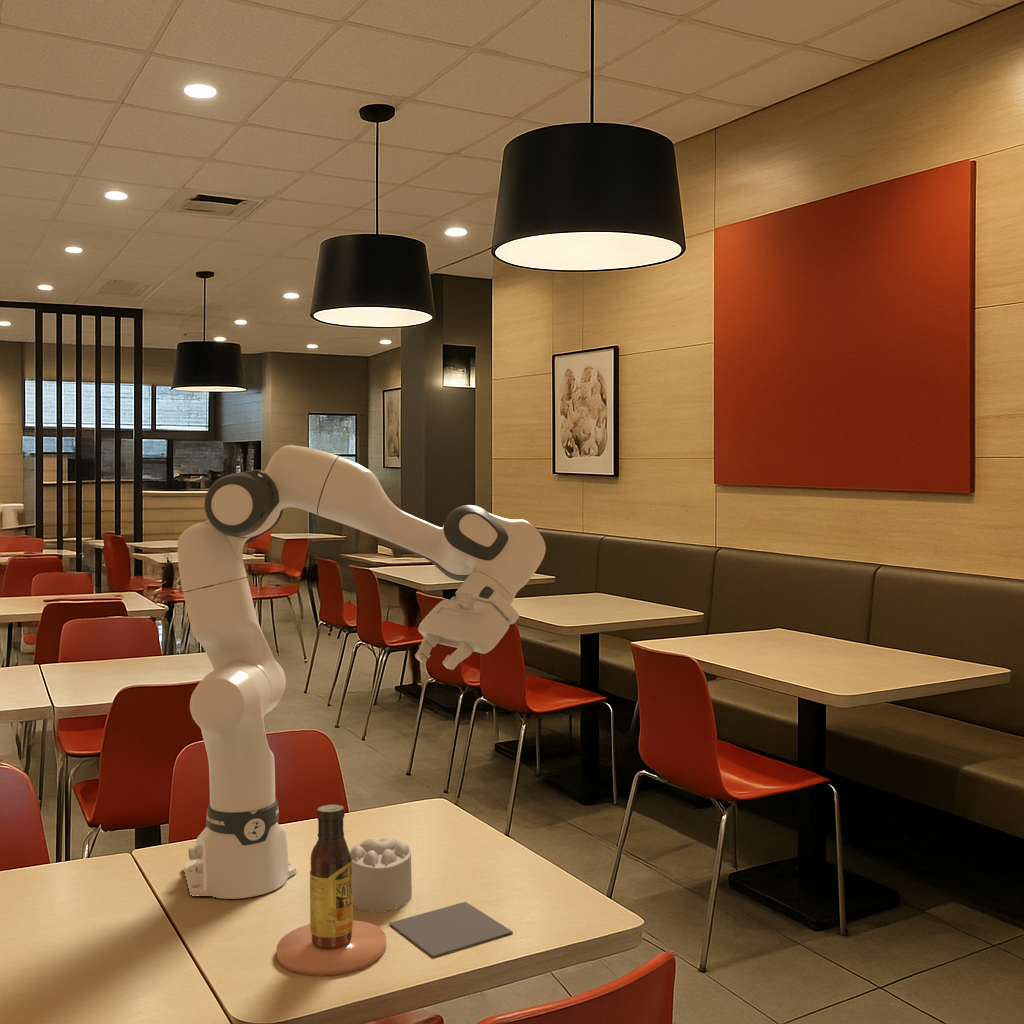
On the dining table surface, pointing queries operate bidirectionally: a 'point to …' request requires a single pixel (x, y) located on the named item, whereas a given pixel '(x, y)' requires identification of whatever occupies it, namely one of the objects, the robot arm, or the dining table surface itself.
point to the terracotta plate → (331, 951)
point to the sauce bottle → (331, 882)
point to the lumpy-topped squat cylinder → (381, 874)
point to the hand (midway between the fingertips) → (432, 663)
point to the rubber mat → (450, 929)
